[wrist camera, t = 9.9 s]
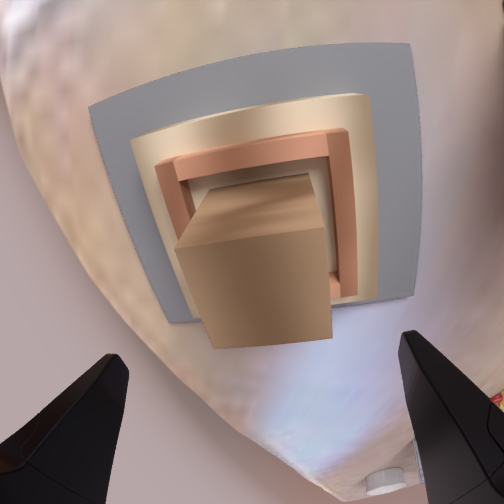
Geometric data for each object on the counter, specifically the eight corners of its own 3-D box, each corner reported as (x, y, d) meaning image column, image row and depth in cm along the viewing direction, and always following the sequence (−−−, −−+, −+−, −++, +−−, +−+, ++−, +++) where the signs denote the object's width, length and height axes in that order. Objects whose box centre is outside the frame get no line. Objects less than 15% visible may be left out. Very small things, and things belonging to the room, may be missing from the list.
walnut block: (308, 172, 14) (324, 227, 9) (319, 259, 17) (332, 338, 12) (209, 189, 15) (173, 249, 10) (232, 270, 18) (213, 348, 13)
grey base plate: (404, 44, 13) (409, 43, 13) (410, 289, 22) (413, 295, 21) (94, 105, 17) (88, 107, 16) (171, 316, 26) (168, 322, 25)
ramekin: (395, 475, 49) (397, 491, 45) (359, 481, 49) (360, 497, 46) (410, 463, 44) (413, 480, 40) (371, 469, 45) (373, 487, 41)
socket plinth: (354, 93, 15) (376, 96, 11) (366, 271, 21) (381, 310, 17) (151, 130, 17) (119, 145, 13) (202, 291, 23) (189, 330, 19)
